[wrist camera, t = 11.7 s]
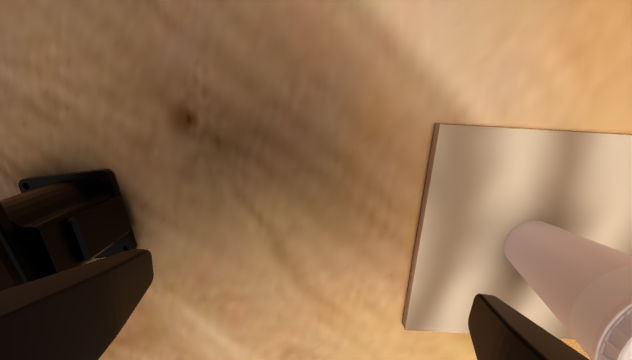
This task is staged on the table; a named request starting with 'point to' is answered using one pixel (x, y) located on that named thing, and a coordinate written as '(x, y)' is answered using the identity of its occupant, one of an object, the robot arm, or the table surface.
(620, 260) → the smoothie
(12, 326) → the robot arm
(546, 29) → the table surface
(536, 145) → the pad
